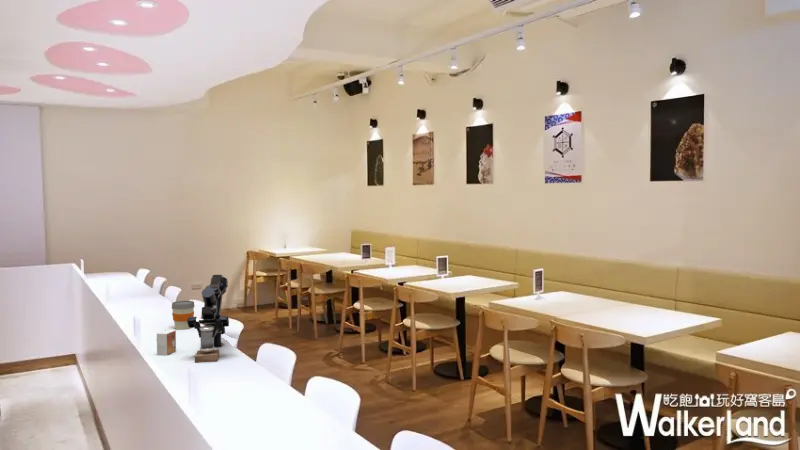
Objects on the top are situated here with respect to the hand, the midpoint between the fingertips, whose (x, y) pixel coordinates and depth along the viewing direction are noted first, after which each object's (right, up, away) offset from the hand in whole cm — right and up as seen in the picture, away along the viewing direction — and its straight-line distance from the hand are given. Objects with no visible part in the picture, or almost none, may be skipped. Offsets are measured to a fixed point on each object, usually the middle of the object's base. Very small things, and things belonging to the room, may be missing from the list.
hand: (206, 337), depth 277 cm
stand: (0, -11, +2) cm, 11 cm away
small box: (-24, -10, +13) cm, 29 cm away
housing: (0, -7, +2) cm, 7 cm away
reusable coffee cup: (-35, -8, +66) cm, 75 cm away
